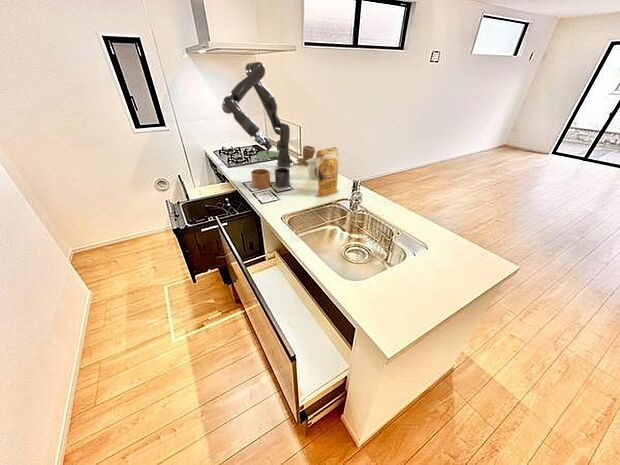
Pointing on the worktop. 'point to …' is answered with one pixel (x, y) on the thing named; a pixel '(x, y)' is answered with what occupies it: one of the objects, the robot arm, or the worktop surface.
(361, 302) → the worktop surface
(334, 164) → the pancake mix bag
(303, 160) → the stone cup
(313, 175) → the pitcher
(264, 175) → the clay pot
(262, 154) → the lid
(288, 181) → the cup
